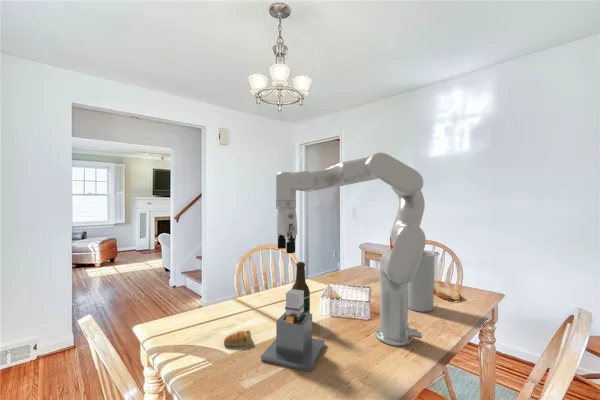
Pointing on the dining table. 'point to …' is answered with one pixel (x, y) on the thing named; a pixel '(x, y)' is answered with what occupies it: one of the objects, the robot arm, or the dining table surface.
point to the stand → (294, 344)
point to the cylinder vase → (422, 285)
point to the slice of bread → (447, 293)
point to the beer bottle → (302, 285)
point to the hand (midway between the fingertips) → (286, 250)
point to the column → (295, 304)
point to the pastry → (239, 339)
